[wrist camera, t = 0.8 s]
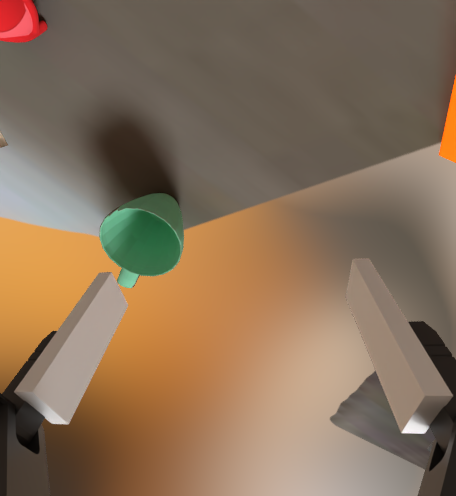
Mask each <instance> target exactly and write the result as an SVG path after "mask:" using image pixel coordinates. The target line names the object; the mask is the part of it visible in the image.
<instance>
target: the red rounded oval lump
mask: <svg viewBox="0 0 456 496" xmlns="http://www.w3.org/2000/svg"><path fill="white" fill-rule="evenodd" d="M46 30H47V24H46V22H45V21H43V20H42V21H40V22H39V18H38V12H37V9H36V7H35V5H34V3H33V1H32V0H0V40H1V41H7V42H28V41H31V40H33V39H35V38H36V37H38V36H39V35H40V34H42V33H43V32H45V31H46Z"/></svg>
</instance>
